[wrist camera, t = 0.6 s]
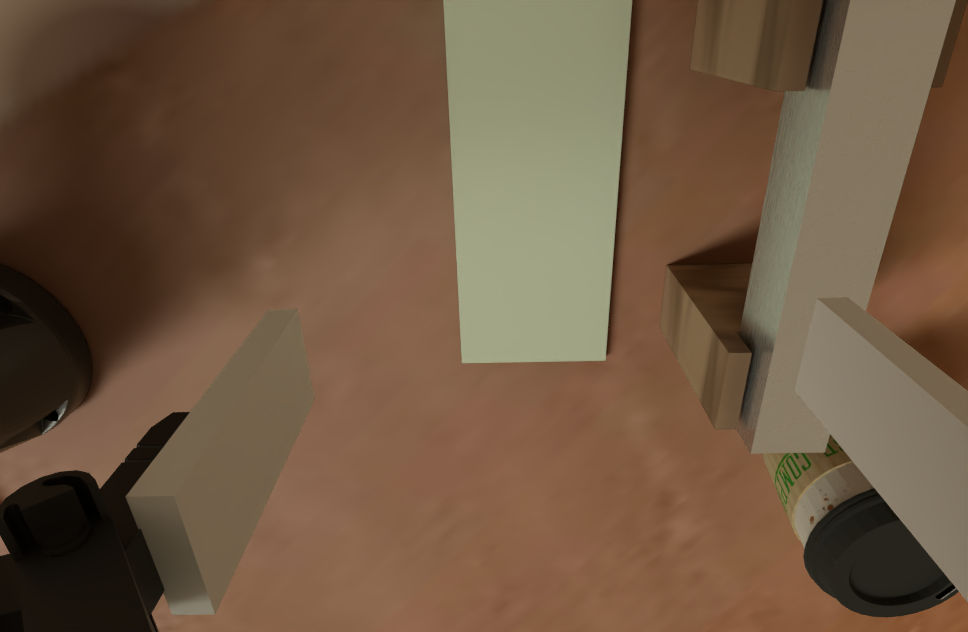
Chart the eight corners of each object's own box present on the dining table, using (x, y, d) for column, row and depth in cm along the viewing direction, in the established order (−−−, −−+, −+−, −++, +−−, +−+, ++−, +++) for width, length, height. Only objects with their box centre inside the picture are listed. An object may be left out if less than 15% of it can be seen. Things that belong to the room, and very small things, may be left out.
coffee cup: (789, 344, 45) (914, 480, 32) (880, 400, 48) (1032, 550, 34) (703, 432, 49) (783, 587, 36) (791, 480, 51) (897, 644, 38)
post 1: (659, 327, 45) (715, 429, 34) (666, 265, 43) (728, 353, 31) (753, 325, 45) (840, 427, 33) (765, 263, 42) (863, 350, 31)
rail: (791, 409, 36) (824, 452, 32) (725, 410, 36) (750, 453, 32) (907, -57, 25) (976, -69, 22) (811, -53, 25) (864, -65, 22)
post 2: (690, 69, 37) (776, 91, 26) (700, -24, 34) (801, -44, 23) (804, 66, 37) (942, 87, 25) (822, -28, 34) (982, -50, 23)
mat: (462, 359, 46) (462, 363, 46) (440, -66, 34) (439, -67, 33) (604, 356, 46) (605, 360, 45) (635, -73, 33) (637, -74, 33)
